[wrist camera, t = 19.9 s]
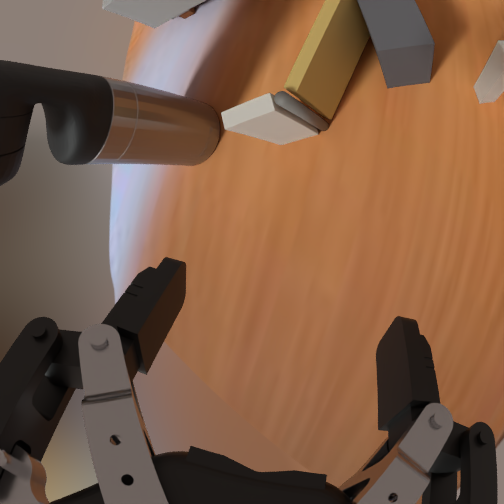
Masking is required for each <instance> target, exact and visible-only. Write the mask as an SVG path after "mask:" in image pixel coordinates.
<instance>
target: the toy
mask: <svg viewBox="0 0 504 504" xmlns="http://www.w3.org/2000/svg"><path fill="white" fill-rule="evenodd" d="M204 1H206V0H103V4H102V9H104V10H107V11H110V12H113V13H116V14H119V15H121V16H124V17H127V18H130V19H132V20H135V21H137V22H140V23H143V24H145V25H147V26H150V27H152V28H157V27H158V26H160V25H162V24H163V23H165V22H167V21H169V20H170V19H174V18H176V17H178V16H180V17H182V18H184V19H185V18H187V17H189V16H191V15H193V14H194V13H195V8H194V6H196V5H198V4H200V3H202V2H204Z"/></svg>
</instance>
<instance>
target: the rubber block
mask: <svg viewBox="0 0 504 504" xmlns="http://www.w3.org/2000/svg"><path fill="white" fill-rule="evenodd" d="M357 2H358V4H359V7H360V9H361V12H362V14H363V17H364V20H365V22H366V25H367V28H368V31H369V34H370V37H371V39H372V42H373V45H374V48H375V50H376V53H377V56H378V59H379V62H380V65H381V68H382V71H383V75H384V78H385V81H386V85H387V88H393V87H399V86H406V85H414V84H422V83H430V77H431V70H432V62H433V54H434V45H435V43H434V41H433V39H432V36H431V34H430V32H429V29H428V27H427V25H426V23H425V20H424V18H423V16H422V14H421V12H420V10H419V8H418V6H417V4H416V2H415V0H357Z"/></svg>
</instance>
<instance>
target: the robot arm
mask: <svg viewBox="0 0 504 504" xmlns="http://www.w3.org/2000/svg"><path fill="white" fill-rule="evenodd" d="M37 103H42V106H43V109H44V112H45V118H46V128H47V139H48V144H49V147H50V150H51V152H52V154H53V156H54V157H55V159H56V160H57V161H59V162H60V163H63V164H67V165H78V164H161V165H185V166H194V165H198V164H200V163H202V162H204V161H205V160H206V159H207V158H209V157H210V155H211V154H212V153H213V151H214V150H215V148H216V146H217V143H218V140H219V135H220V123H219V119H218V116H217V114H216V112H215V111H214V110H213V108H212V107H210V106H209V105H207V104H205V103H202V102H199V101H196V100H193V99H190V98H187V97H183V96H180V95H177V94H173V93H170V92H166V91H162V90H159V89H155V88H151V87H147V86H143V85H139V84H135V83H131V82H126V81H121V80H117V79H112V78H107V77H102V76H97V75H91V74H85V73H78V72H72V71H65V70H58V69H52V68H46V67H40V66H34V65H29V64H23V63H17V62H11V61H4V60H0V186H1V185H3V184H4V183H6V182H7V181H9V180H10V179H12V178H13V177H14V176H15V175H16V173H17V172H18V170H19V167H20V164H21V161H22V157H23V152H24V147H25V142H26V137H27V133H28V129H29V124H30V120H31V116H32V112H33V108H34V105H35V104H37ZM185 294H186V263H185V262H182V261H179V260H175V259H171V258H168V257H165V258H164V259H163V260H162V262H161V263H160V265H159V266H158V267H157V269H155V268H152V267H148V268H147V269H145V270H144V271H142V272H140V273H139V274H138V275H137V276H136V277H135V279H134V280H133V281H132V283H131V285H129V287H128V288H127V289H126V291H125V293H123V295H122V296H121V297H120V299H119V300H118V302H117V303H116V304H115V306H114V307H113V309H112V310H111V311H110V313H109V314H108V315H107V317H106V318H105V320H104V321H103V322H102V323H101V324H95V325H92V326H90V327H88V328H87V329H85V330H84V331H83V332H76V331H66V330H59V329H58V327H57V325H56V323H55V321H53V320H52V319H50V318H47V317H39V318H36V319H33V320H32V321H30V322H29V323H28V324H27V325H26V326H25V328H24V329H23V331H22V332H21V333H20V335H19V336H18V338H17V339H16V340H15V342H14V343H13V345H12V346H11V348H10V349H9V351H8V352H7V354H6V355H5V357H4V358H3V360H2V361H1V363H0V504H415V503H416V502H417V501H418V499H419V498H420V496H421V495H422V493H423V495H422V504H497V464H496V450H495V439H494V434H493V432H492V430H491V428H490V427H489V426H488V425H487V424H485V423H483V422H477V423H475V424H474V425H472V426H471V427H470V428H468V427H466V426H463V425H461V424H458V423H456V422H454V421H453V418H452V415H451V413H450V411H449V410H448V409H447V408H446V407H445V406H443V405H442V404H440V398H439V391H438V385H437V379H436V373H435V370H434V363H433V360H432V353H431V348H430V345H429V344H428V342H427V340H426V338H425V337H424V335H420V333H419V328H418V324H417V321H416V320H414V319H409V318H405V317H400V316H398V317H396V318H395V319H394V321H393V322H392V324H391V325H390V327H389V328H388V330H387V332H386V333H385V335H384V336H383V337H382V339H381V340H380V342H379V344H378V347H377V351H376V364H377V387H378V430H384V431H388V437H387V438H386V439H385V440H384V441H383V442H382V444H381V445H380V446H379V447H378V449H377V450H376V451H375V452H374V453H373V455H372V456H371V457H370V458H369V459H368V460H367V461H366V463H365V464H364V465H363V466H362V467H361V468H360V469H359V470H358V471H357V472H356V473H355V474H354V475H353V476H352V477H351V478H349V479H348V480H347V481H346V482H344V483H343V484H342V485H341V486H340V487H339V488H337V487H336V486H334V485H332V484H330V483H328V482H326V476H327V475H325V474H317V473H309V472H302V471H279V472H256V471H254V470H251V469H250V468H248V467H246V466H244V465H242V464H240V463H238V462H236V461H234V460H232V459H229V458H228V457H226V456H224V455H220V454H216V453H213V452H209V451H206V450H203V449H199V448H196V447H193V446H190V449H189V452H183V451H181V452H179V451H178V452H167V453H162V454H158V455H156V454H155V451H154V449H153V446H152V443H151V440H150V437H149V434H148V431H147V429H146V425H145V422H144V419H143V416H142V412H141V409H140V405H139V402H138V398H137V395H136V391H135V387H134V384H133V379H134V377H135V375H136V373H137V371H139V372H141V373H144V374H146V375H147V372H148V371H149V369H150V367H151V365H152V363H153V361H154V359H155V357H156V355H157V353H158V351H159V349H160V348H161V346H162V344H163V342H164V340H165V338H166V336H167V334H168V332H169V331H170V329H171V327H172V325H173V323H174V321H175V319H176V317H177V315H178V314H179V312H180V310H181V308H182V306H183V303H184V299H185ZM76 388H77V389H84V399H83V400H82V413H83V419H84V424H85V429H86V434H87V439H88V444H89V448H90V452H91V456H92V461H93V465H94V468H95V472H96V476H97V479H98V483H97V484H94V485H92V486H90V487H88V488H85V489H83V490H81V491H78V492H76V493H73V494H71V495H68V496H66V497H63V498H61V499H58V500H55V501H53V502H51V503H49V501H48V499H47V497H46V494H45V485H46V478H47V477H46V471H45V469H44V467H43V465H42V463H41V460H42V458H43V455H44V453H45V451H46V449H47V447H48V444H49V442H50V440H51V438H52V436H53V433H54V431H55V429H56V427H57V425H58V423H59V421H60V419H61V417H62V415H63V413H64V411H65V409H66V407H67V405H68V403H69V401H70V399H71V397H72V395H73V393H74V391H75V389H76ZM459 470H461V485H460V495H459V498H458V499H457V501H456V496H457V471H459Z"/></svg>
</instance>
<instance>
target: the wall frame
mask: <svg viewBox="0 0 504 504" xmlns="http://www.w3.org/2000/svg"><path fill="white" fill-rule="evenodd" d="M474 89H475V92H476V95H477V98H478V100H479V103H480V104H481V103H489V102H495V101H496V100H497V98H498V97H499V96H500V95H501V94H502V93H503V92H504V40H501V41H498V42H497V44H496V46H495V48H494V50H493V52H492V54H491V56H490V57H489V59H488V61H487V63H486V65H485V67H484V69H483V71H482V72H481V74H480V76H479V78H478V80H477V81H476V83H475V85H474ZM221 115H222V119H223V124H224V128H225V130H229V131H233V132H237V133H241V134H244V135H248V136H252V137H255V138H259V139H262V140H266V141H269V142H272V143H276V144H279V145H284V144H287V143H290V142H294V141H297V140H301V139H304V138H308V137H311V136H315V135H318V130H317V128H318V129H319V130H321V131H326V130H327V129H328V127H329V125H328V123H327V122H326V121H325V120H323V119H322V118H321V117H319V116H318V115H317V114H315V113H314V112H313V111H311V110H310V109H309V108H307V107H306V106H305V105H303V104H302V103H300V102H299V101H298V100H296V99H295V98H293V97H292V96H291V95H289V94H288V93H286V92H284V91H280V92H278V93H277V94H276V95H275V96H274V95H273V94H271V93H268V94H265V95H263V96H260V97H258V98H255V99H252V100H250V101H247V102H245V103H243V104H240V105H238V106H235V107H233V108H231V109H228V110H226V111H224V112H221Z"/></svg>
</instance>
